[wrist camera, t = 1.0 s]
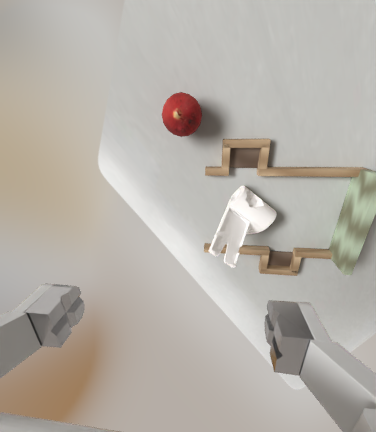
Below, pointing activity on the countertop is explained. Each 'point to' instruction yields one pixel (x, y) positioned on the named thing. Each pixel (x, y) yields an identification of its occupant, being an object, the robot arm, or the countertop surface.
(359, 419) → the robot arm
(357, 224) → the trap lane
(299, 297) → the countertop surface
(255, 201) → the plastic part
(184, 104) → the onion
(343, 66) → the countertop surface
